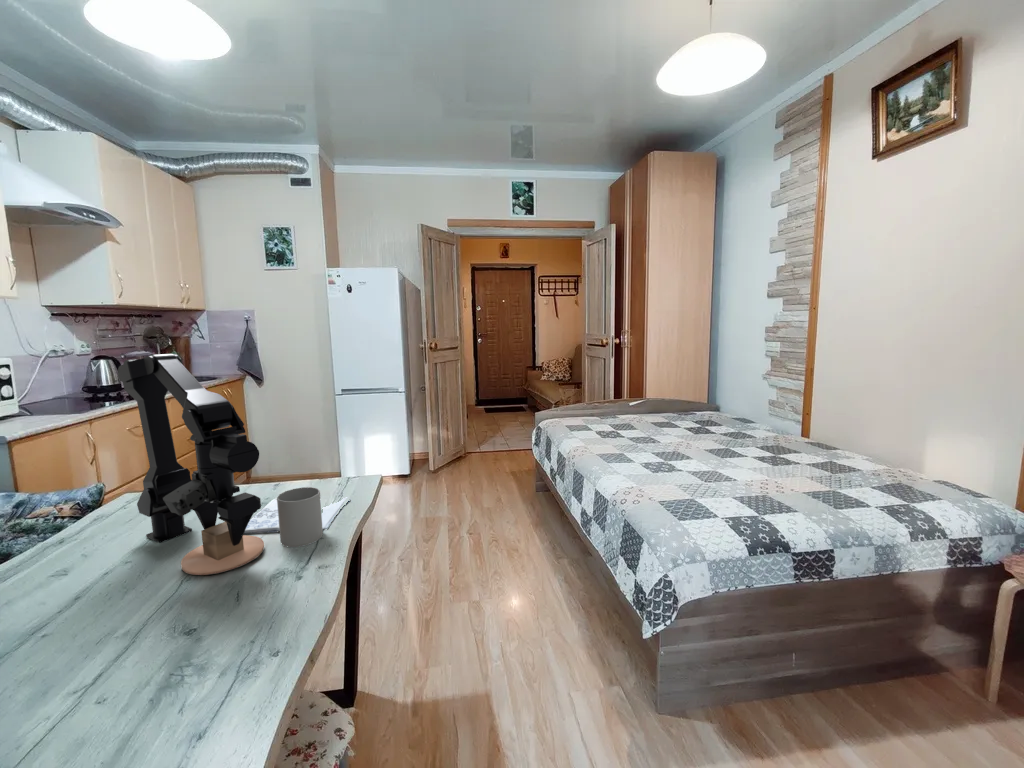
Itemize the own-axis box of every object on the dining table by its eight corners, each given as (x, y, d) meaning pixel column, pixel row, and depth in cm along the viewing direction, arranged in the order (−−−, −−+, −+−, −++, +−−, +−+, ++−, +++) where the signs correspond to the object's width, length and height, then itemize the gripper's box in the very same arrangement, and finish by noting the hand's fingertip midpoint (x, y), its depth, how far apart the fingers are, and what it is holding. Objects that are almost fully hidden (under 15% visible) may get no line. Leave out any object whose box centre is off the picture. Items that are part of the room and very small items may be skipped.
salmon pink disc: (167, 566, 87) (166, 559, 87) (239, 536, 99) (239, 530, 99) (206, 585, 80) (205, 578, 80) (279, 551, 92) (278, 544, 92)
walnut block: (203, 554, 89) (201, 530, 88) (229, 543, 93) (227, 520, 92) (217, 560, 86) (215, 536, 86) (243, 549, 91) (241, 525, 90)
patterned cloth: (275, 503, 119) (274, 496, 118) (352, 501, 120) (352, 493, 119) (235, 537, 100) (234, 528, 99) (328, 534, 101) (327, 525, 101)
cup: (306, 548, 93) (302, 503, 92) (271, 545, 95) (268, 500, 94) (330, 530, 101) (327, 488, 100) (298, 527, 103) (295, 486, 102)
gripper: (142, 468, 85) (152, 546, 87) (195, 485, 76) (204, 571, 78) (206, 453, 94) (213, 523, 96) (259, 466, 85) (266, 543, 87)
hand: (222, 539), depth 89 cm, fingers open, 9 cm apart
